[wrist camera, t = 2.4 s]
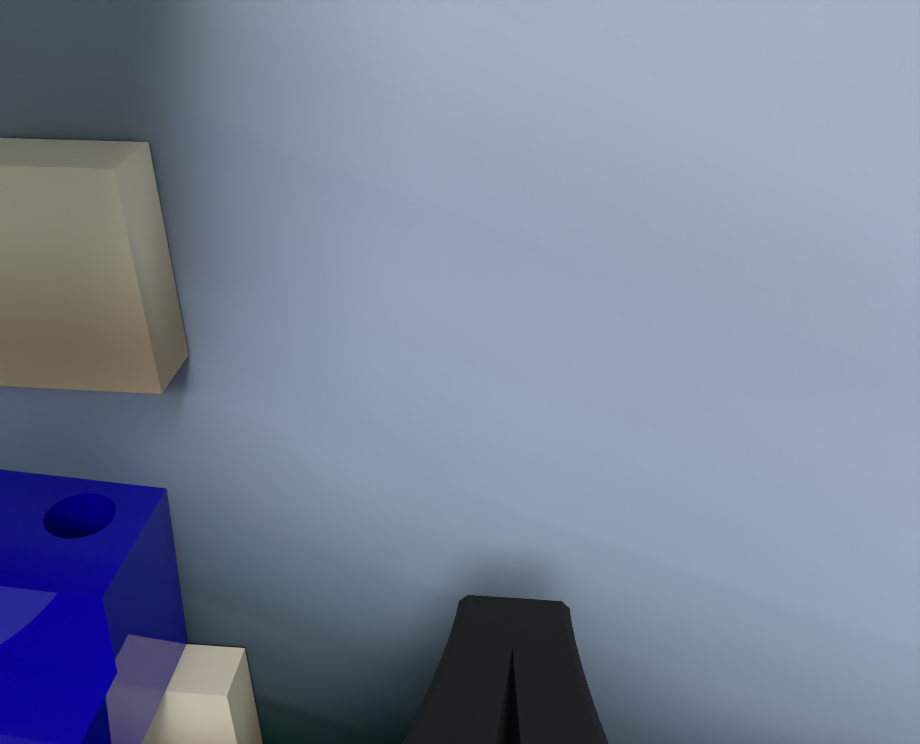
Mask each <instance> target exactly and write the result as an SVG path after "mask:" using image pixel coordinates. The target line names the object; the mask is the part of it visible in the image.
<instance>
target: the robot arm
mask: <svg viewBox="0 0 920 744" xmlns="http://www.w3.org/2000/svg"><path fill="white" fill-rule="evenodd" d="M403 744H608V741H607V738H606V736H605V733H604V731H603V728H602V725H601V723H600V720H599V717H598V714H597V712H596V709H595V706H594V703H593V700H592V697H591V694H590V691H589V687H588V684H587V681H586V678H585V675H584V671H583V668H582V664H581V661H580V657H579V653H578V649H577V645H576V641H575V637H574V632H573V627H572V622H571V615H570V608H569V607H568V606H566V605H565V604H564V603H563V602H562V601H550V600H535V599H520V598H505V597H490V596H474V595H467V596H466V597H464V598H463V599H461V600H460V601H459V604H458V608H457V613H456V617H455V620H454V624H453V627H452V630H451V633H450V636H449V639H448V642H447V645H446V648H445V650H444V653H443V656H442V658H441V661H440V663H439V666H438V668H437V670H436V673H435V675H434V678H433V680H432V683H431V685H430V687H429V689H428V691H427V694H426V696H425V698H424V700H423V702H422V704H421V706H420V708H419V711H418V713H417V715H416V717H415V719H414V721H413V723H412V725H411V728H410V730H409V732H408V734H407V736H406V738H405V740H404V742H403Z"/></svg>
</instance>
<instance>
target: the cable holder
mask: <svg viewBox="0 0 920 744" xmlns="http://www.w3.org/2000/svg"><path fill="white" fill-rule="evenodd" d="M187 642H188V639H187V632H186V625H185V618H184V611H183V604H182V597H181V590H180V583H179V575H178V568H177V561H176V554H175V547H174V540H173V533H172V526H171V518H170V511H169V504H168V497H167V490H166V488H157V487H148V486H139V485H130V484H122V483H113V482H104V481H95V480H86V479H78V478H69V477H60V476H51V475H42V474H33V473H25V472H16V471H7V470H0V744H142V742H143V740H144V738H145V736H146V733H147V731H148V729H149V727H150V724H151V722H152V720H153V718H154V715H155V713H156V711H157V709H158V706H159V704H160V702H161V700H162V698H163V695H164V693H165V691H166V689H167V686H168V684H169V682H170V680H171V677H172V675H173V673H174V671H175V669H176V666H177V664H178V662H179V660H180V657H181V655H182V653H183V651H184V648H185V646H186V644H187Z"/></svg>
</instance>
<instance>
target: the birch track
mask: <svg viewBox="0 0 920 744" xmlns="http://www.w3.org/2000/svg"><path fill="white" fill-rule="evenodd" d="M188 356H189V353H188V347H187V342H186V337H185V332H184V326H183V321H182V316H181V311H180V305H179V300H178V295H177V290H176V284H175V279H174V274H173V269H172V263H171V258H170V253H169V248H168V242H167V237H166V232H165V226H164V221H163V216H162V211H161V205H160V200H159V195H158V190H157V184H156V179H155V174H154V169H153V163H152V158H151V153H150V148H149V142H128V141H93V140H58V139H23V138H0V386H8V387H28V388H48V389H68V390H88V391H108V392H128V393H148V394H162V393H163V392H164V390H165V389H166V387H167V386H168V385H169V383H170V382H171V380H172V379H173V377H174V376H175V374H176V373H177V372H178V370H179V369H180V367H181V366H182V364H183V363H184V361H185V360H186V358H187V357H188ZM142 744H263V742H262V736H261V731H260V726H259V721H258V715H257V710H256V705H255V700H254V694H253V689H252V684H251V679H250V673H249V668H248V663H247V658H246V652H245V648H234V647H220V646H206V645H192V644H186V646H185V648H184V651H183V653H182V655H181V657H180V660H179V662H178V664H177V666H176V669H175V671H174V673H173V675H172V677H171V680H170V682H169V684H168V686H167V689H166V691H165V693H164V695H163V698H162V700H161V702H160V704H159V706H158V709H157V711H156V713H155V715H154V718H153V720H152V722H151V724H150V727H149V729H148V731H147V733H146V736H145V738H144V740H143V742H142Z"/></svg>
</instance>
